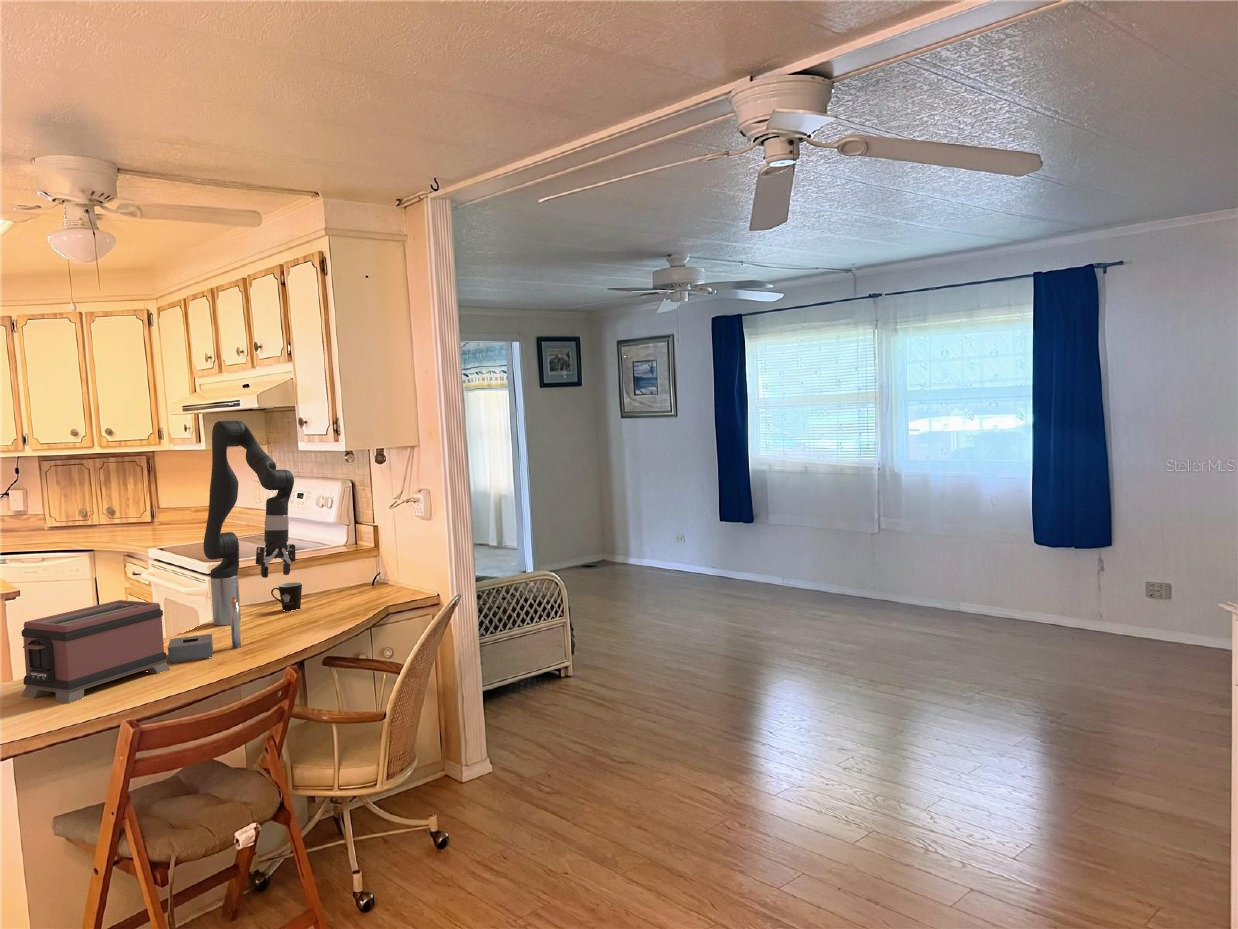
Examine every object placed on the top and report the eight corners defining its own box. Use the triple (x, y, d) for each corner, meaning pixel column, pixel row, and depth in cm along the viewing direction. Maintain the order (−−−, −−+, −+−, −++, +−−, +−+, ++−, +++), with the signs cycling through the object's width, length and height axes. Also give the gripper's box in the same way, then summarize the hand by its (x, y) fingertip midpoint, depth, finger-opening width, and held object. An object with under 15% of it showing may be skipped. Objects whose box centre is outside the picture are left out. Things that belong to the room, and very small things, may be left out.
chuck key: (232, 646, 277) (229, 597, 277) (240, 645, 279) (238, 596, 278) (232, 650, 272) (229, 601, 271) (241, 649, 273) (238, 600, 272)
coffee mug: (308, 608, 330) (306, 583, 330) (289, 613, 323) (287, 587, 323) (289, 606, 337) (288, 581, 336) (270, 610, 329) (268, 585, 329)
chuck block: (171, 654, 270) (170, 638, 269) (212, 648, 275) (212, 633, 274) (168, 663, 259) (167, 647, 258) (212, 658, 264) (211, 642, 263)
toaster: (9, 700, 228) (4, 625, 227) (125, 664, 260) (121, 598, 259) (57, 708, 221) (52, 630, 220) (170, 670, 253) (166, 602, 251)
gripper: (286, 526, 294) (285, 573, 294) (251, 529, 282) (250, 577, 282) (301, 527, 291) (300, 575, 290) (266, 530, 278) (265, 579, 278)
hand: (275, 576), depth 286 cm, fingers open, 8 cm apart
